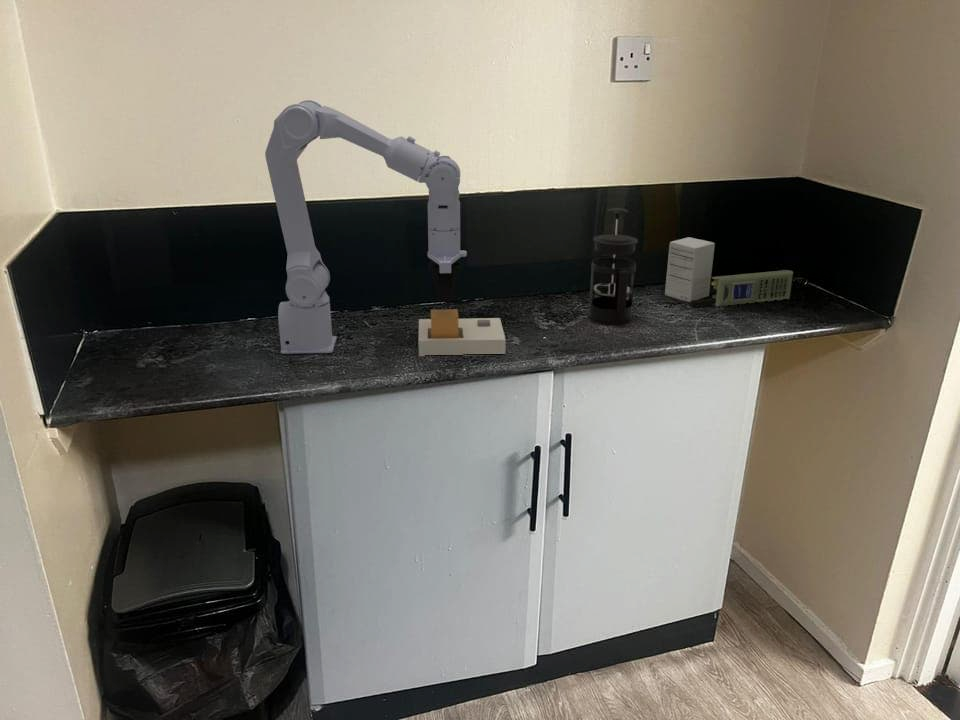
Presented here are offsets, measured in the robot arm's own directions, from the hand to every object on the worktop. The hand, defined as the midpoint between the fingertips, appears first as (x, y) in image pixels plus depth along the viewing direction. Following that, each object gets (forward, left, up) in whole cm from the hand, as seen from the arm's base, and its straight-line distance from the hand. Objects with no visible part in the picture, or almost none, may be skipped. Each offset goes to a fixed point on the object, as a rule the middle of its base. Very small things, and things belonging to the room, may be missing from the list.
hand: (444, 300), depth 143 cm
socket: (+3, +2, -9) cm, 10 cm away
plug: (0, 0, -9) cm, 9 cm away
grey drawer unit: (+56, +30, -10) cm, 64 cm away
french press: (+35, +15, -10) cm, 39 cm away
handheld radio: (+67, +25, -10) cm, 72 cm away
